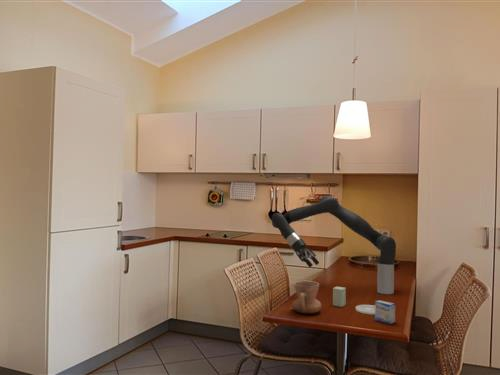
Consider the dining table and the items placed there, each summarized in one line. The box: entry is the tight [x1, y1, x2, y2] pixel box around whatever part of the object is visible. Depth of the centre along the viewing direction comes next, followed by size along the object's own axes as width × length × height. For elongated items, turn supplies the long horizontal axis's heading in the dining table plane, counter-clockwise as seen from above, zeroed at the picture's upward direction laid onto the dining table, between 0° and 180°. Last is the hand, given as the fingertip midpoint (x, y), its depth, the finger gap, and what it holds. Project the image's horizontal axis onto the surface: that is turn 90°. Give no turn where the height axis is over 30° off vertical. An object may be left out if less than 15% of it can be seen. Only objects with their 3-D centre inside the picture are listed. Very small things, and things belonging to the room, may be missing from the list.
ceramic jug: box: [291, 280, 323, 315], centre depth 204 cm, size 18×14×14 cm
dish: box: [355, 304, 375, 316], centre depth 207 cm, size 13×13×1 cm
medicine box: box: [374, 299, 396, 325], centre depth 191 cm, size 8×4×9 cm, turn 45°
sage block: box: [332, 286, 347, 308], centre depth 217 cm, size 5×5×9 cm
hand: (314, 265), depth 225 cm, fingers open, 8 cm apart
